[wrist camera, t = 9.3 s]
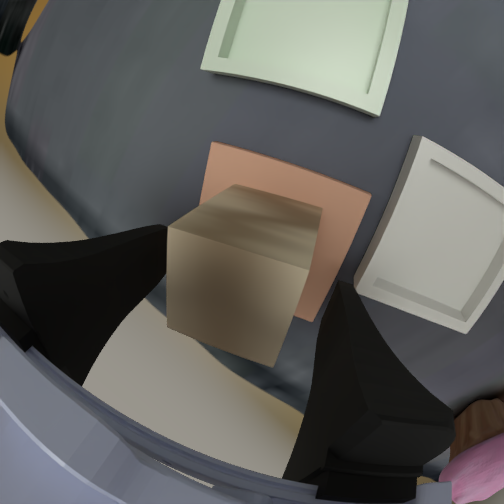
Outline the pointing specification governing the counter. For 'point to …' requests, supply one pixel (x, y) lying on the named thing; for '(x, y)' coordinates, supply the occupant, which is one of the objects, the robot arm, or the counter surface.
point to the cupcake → (477, 452)
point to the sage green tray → (311, 46)
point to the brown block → (240, 270)
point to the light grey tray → (437, 240)
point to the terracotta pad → (301, 189)
